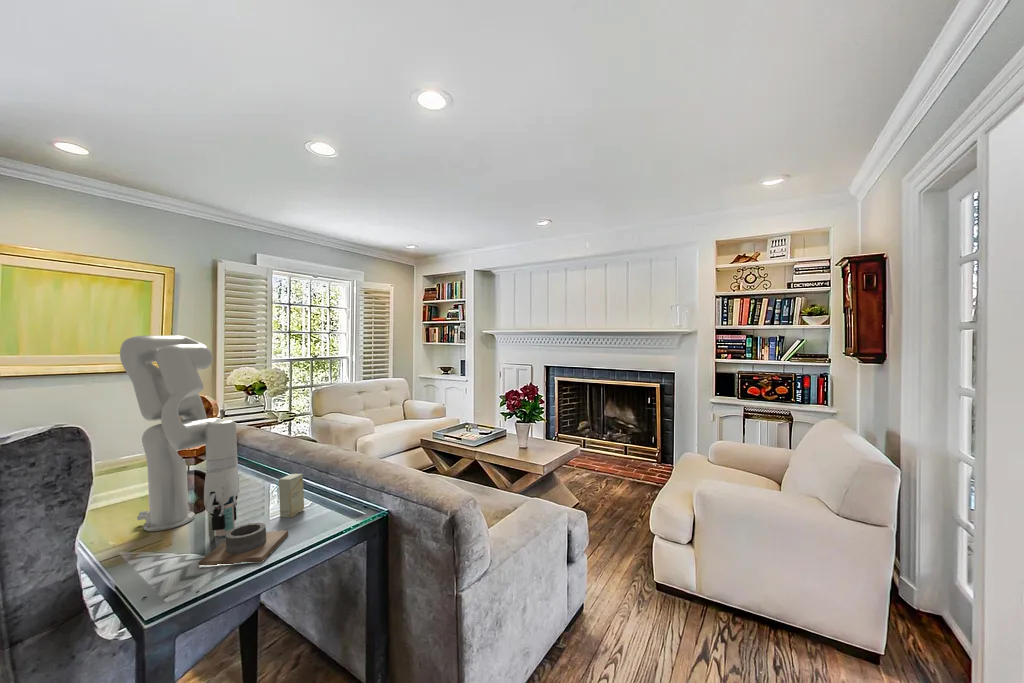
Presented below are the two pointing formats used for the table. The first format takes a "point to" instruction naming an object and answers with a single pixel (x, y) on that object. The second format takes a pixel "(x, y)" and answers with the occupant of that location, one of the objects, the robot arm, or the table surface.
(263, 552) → the can holder
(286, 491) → the skincare box
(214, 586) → the table surface
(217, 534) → the beer can
